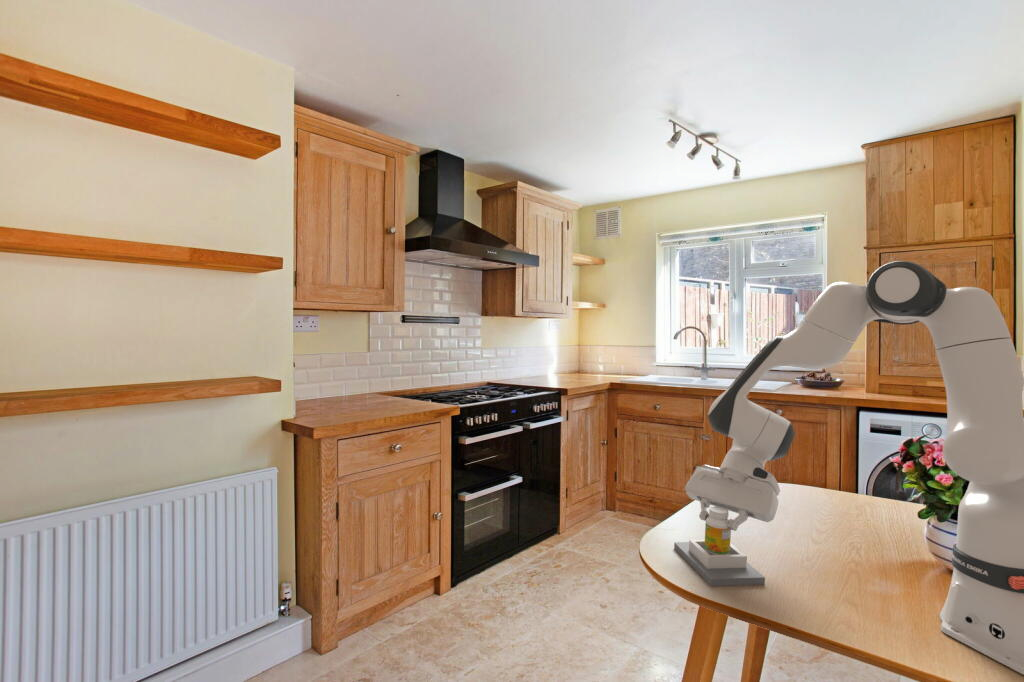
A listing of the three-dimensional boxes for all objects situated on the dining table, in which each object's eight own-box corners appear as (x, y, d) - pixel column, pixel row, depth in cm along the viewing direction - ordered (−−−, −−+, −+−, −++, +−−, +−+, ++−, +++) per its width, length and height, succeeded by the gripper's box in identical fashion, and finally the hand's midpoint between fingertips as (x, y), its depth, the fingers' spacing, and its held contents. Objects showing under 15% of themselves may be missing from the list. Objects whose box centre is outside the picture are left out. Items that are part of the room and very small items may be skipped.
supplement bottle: (699, 548, 122) (701, 506, 121) (717, 545, 124) (719, 504, 123) (716, 558, 117) (718, 515, 116) (735, 554, 119) (737, 512, 118)
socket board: (764, 584, 112) (765, 565, 112) (710, 586, 111) (711, 567, 110) (721, 547, 130) (721, 531, 130) (674, 548, 129) (674, 532, 128)
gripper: (694, 455, 132) (671, 502, 126) (780, 476, 116) (757, 531, 110) (703, 470, 135) (680, 517, 129) (787, 492, 120) (766, 546, 114)
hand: (716, 523), depth 120 cm, fingers closed on supplement bottle, 5 cm apart
